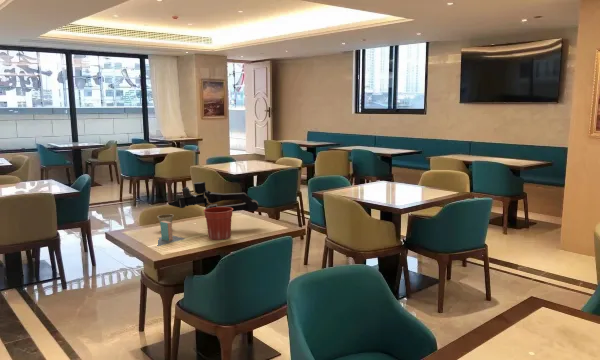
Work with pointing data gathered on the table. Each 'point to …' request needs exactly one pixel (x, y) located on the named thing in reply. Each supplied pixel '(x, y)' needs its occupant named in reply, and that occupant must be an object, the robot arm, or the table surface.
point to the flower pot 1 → (165, 218)
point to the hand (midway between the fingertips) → (170, 203)
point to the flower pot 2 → (218, 222)
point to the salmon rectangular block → (166, 230)
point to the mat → (163, 242)
